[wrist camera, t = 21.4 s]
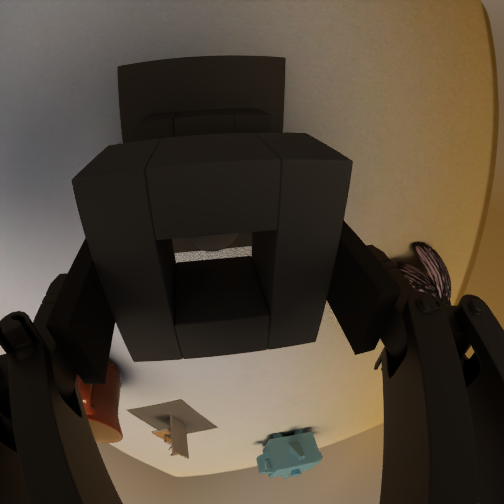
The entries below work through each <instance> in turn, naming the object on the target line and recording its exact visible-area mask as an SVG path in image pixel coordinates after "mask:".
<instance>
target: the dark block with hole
mask: <svg viewBox="0 0 504 504" xmlns="http://www.w3.org/2000/svg"><path fill="white" fill-rule="evenodd" d="M137 126H138V137H139V141H143V140H151V139H162V138H169V137H179V136H191V135H205V134H223V133H254V134H255V133H271V114H269V113H267V112H265V111H262V110H260V109H258V108H229V109H206V110H191V111H179V112H169V113H160V114H152V115H147V116H146V117H145V118H144V119H142V120H141V121H140V122H138V124H137Z"/></svg>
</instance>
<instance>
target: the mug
mask: <svg viewBox="0 0 504 504" xmlns="http://www.w3.org/2000/svg"><path fill="white" fill-rule="evenodd" d="M75 385H76V386H77V387H78V389H79V391H80V393H81V397H82V401H83V404H84V408H85V411H86V414H87V418H88V421H89V424H90V427H91V430H92V433H93V436H94V438H95V441H96V442H100V443H114V442H118V441H120V440H122V438H123V434H122V431H121V427H120V424H119V419H118V406H119V398H120V388H121V381H120V372H119V370H118V368H117V367H116V366H115V365H114V364H113V363H112V362H110V361H109V360H108V366H107V373H106V380H105V384H84V383H83V381H82V380H81V379H80V377H79V376H78V375H77V377H76V382H75Z"/></svg>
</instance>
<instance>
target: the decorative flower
mask: <svg viewBox="0 0 504 504" xmlns="http://www.w3.org/2000/svg"><path fill="white" fill-rule="evenodd" d="M413 247H414V250H415V251H416V253H417V254H418V256H419V258H420V260H421V262H422V263H423V264H424V266H425V268H426V270H427V272H428V274H429V276H430V277H429V276H428V275H427V274H426V273H424V272H423V271H421V270H420V269H418V268H416V267H414V266H411V265H409V264H406V263H403V262H397V261H396V262H397V264H398V265H397V266H396V269H399V271H400V272H401V273H402V274H403V275H404V277H405V278H406V279H407V280H408V281H409V283H410V284H411V285H412V286H413V287H414V289H415V290H416V291H423V292H427V293H430V294H431V295H433V296H435V297H436V298H437V299H438V300H439V301H440V302H441V303H442V305H449V306H451V302H450V297H451V281H450V276H449V273H448V270H447V267H446V266H445V264H444V262H443V260H442V259H441V257H440V256H439V255H438V253H437V252H436V251H435V250H433V249H432V248H431V247H429V246H427V245H426V244H425V243H421V242H417V243H413Z"/></svg>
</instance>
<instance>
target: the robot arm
mask: <svg viewBox="0 0 504 504" xmlns="http://www.w3.org/2000/svg"><path fill="white" fill-rule="evenodd" d="M327 301H328V303H329V305H330V307H331V309H332V311H333V313H334V315H335V316H336V318H337V320H338V322H339V324H340V326H341V328H342V330H343V332H344V334H345V336H346V337H347V339H348V341H349V343H350V345H351V347H352V349H353V351H354V353H355V355H357V354H360V353H364V352H368V351H372V350H374V349H375V347H376V345H377V343H378V341H379V339H381V341H382V342H383V344H384V346H385V347H384V349H383V351H382V352H381V354H380V356H379V358H378V360H377V362H376V363H375V367H374V369H375V370H377V369H378V367H379V365H380V364H381V362H382V368H381V370H382V376H383V399H384V449H383V470H382V484H381V495H380V504H504V330H503V329H502V327H501V325H500V324H499V322H498V321H497V319H496V318H495V316H494V315H493V313H492V312H491V310H490V309H489V307H488V306H487V305H486V303H485V302H484V301H483V300H481V299H480V298H479V297H477V296H474V295H464V296H463V297H462V298H461V300H460V302H459V303H458V305H457V306H449V305H442V303H441V302H440V301H439V300H438V299H437V298H436V297H435V296H433V295H431V294H430V293H427V292H423V291H416V290H415V289H414V287H413V286H412V285H411V284H410V283H409V281H408V280H407V279H406V278H405V277H404V275H403V274H402V273H401V272H400V271H399V269H396V266H395V265H394V264H393V263H392V262H390V259H389V258H388V257H387V256H386V255H385V253H384V252H383V251H381V250H379V249H378V248H376V247H375V246H373V245H365V244H364V243H363V242H362V240H361V239H360V238H359V237H358V236H357V235H356V234H355V232H354V231H353V230H352V229H351V228H350V227H349V226H348V225H347V224H346V222H345V221H344V220H343V225H342V231H341V236H340V240H339V245H338V250H337V255H336V260H335V265H334V269H333V274H332V278H331V282H330V287H329V291H328V295H327ZM114 326H115V319H114V316H113V314H112V311H111V309H110V306H109V304H108V301H107V299H106V296H105V293H104V291H103V288H102V285H101V282H100V280H99V277H98V274H97V271H96V268H95V265H94V262H93V260H92V256H91V253H90V250H89V247H88V244H87V240H86V238H85V240H84V242H83V244H82V246H81V248H80V250H79V252H78V254H77V256H76V258H75V260H74V262H73V264H72V266H71V268H70V270H69V272H68V273H67V274H59V275H58V276H57V277H56V279H55V280H54V281H53V282H52V283H51V284H50V286H49V288H48V290H47V292H46V296H45V297H44V299H43V301H42V304H41V305H40V308H39V310H38V312H37V315H36V317H35V319H34V322H33V323H32V321H31V319H30V317H29V316H28V315H27V314H26V313H25V312H21V311H17V312H12V313H10V314H8V315H7V316H5V317H4V318H3V319H2V320H1V321H0V345H1V347H2V348H3V349H4V351H5V352H6V353H7V354H3V355H0V504H123V503H122V501H121V499H120V497H119V495H118V493H117V491H116V489H115V487H114V485H113V483H112V480H111V478H110V476H109V474H108V471H107V469H106V467H105V464H104V462H103V459H102V457H101V454H100V452H99V449H98V447H97V444H96V441H95V438H94V436H93V433H92V430H91V427H90V424H89V421H88V418H87V414H86V411H85V408H84V404H83V401H82V397H81V393H80V391H79V389H78V387H77V386H76V385H75V382H76V377H77V375H78V376H79V377H80V379H81V380H82V381H83V383H84V384H105V380H106V373H107V366H108V360H109V354H110V348H111V342H112V336H113V331H114ZM470 346H472V348H473V350H474V354H473V355H472V356H471V358H470V359H469V358H467V357H466V355H465V353H466V352H467V350H468V349H469V348H470Z"/></svg>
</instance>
